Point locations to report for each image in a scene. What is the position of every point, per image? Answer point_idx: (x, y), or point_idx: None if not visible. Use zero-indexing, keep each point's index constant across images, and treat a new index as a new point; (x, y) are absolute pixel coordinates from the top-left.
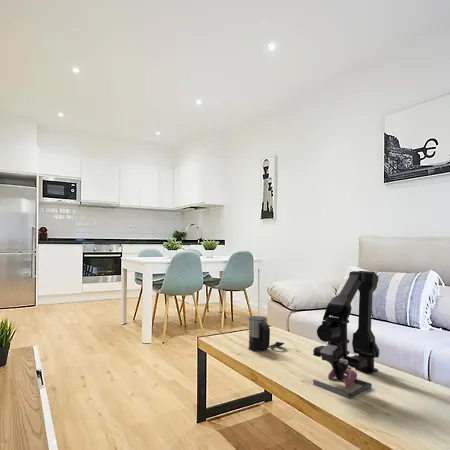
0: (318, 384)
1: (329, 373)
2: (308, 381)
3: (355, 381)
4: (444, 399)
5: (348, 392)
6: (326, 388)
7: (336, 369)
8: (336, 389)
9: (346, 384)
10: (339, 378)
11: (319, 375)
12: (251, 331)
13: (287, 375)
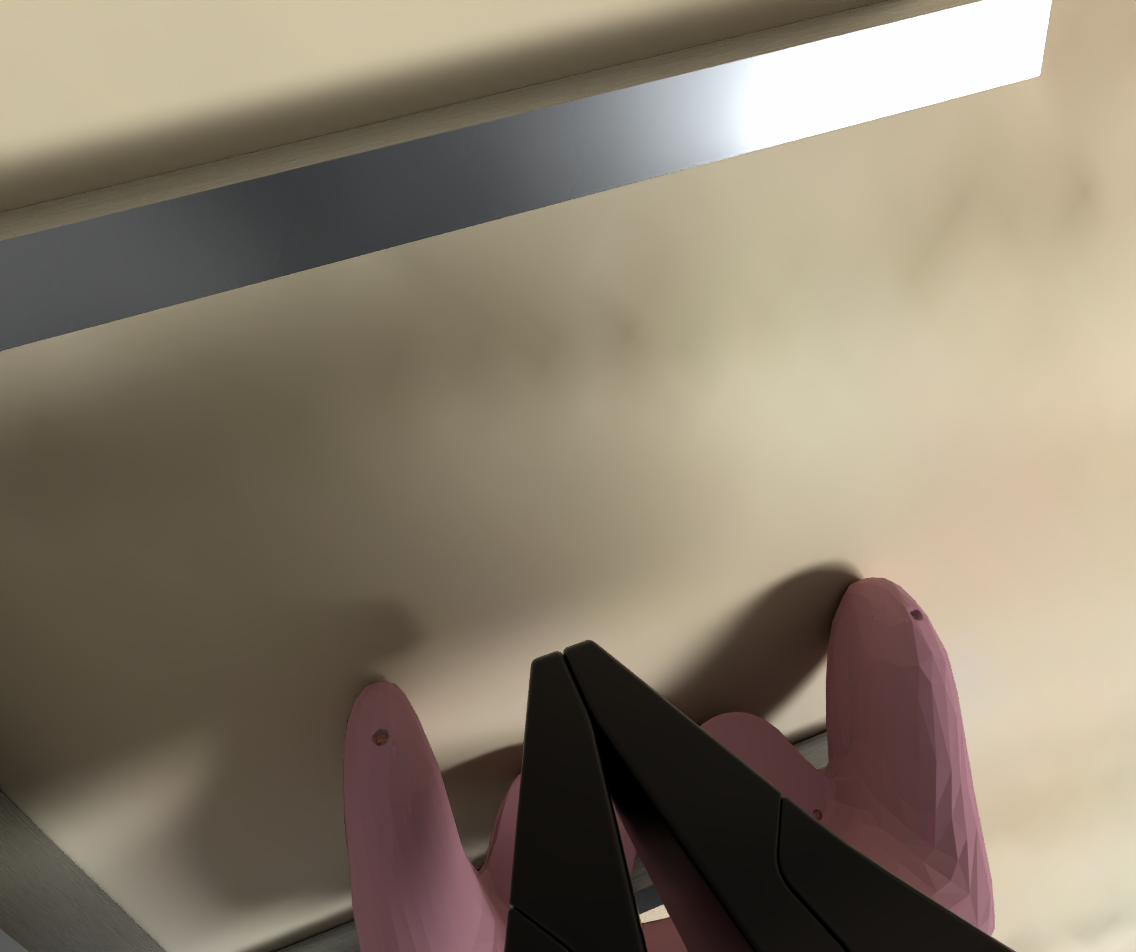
0: (795, 30)
1: (935, 664)
2: (1126, 12)
3: None
4: None
5: None
6: (474, 104)
7: (733, 929)
8: (11, 229)
9: (358, 729)
10: (530, 721)
11: (1069, 504)
12: None
13: None
